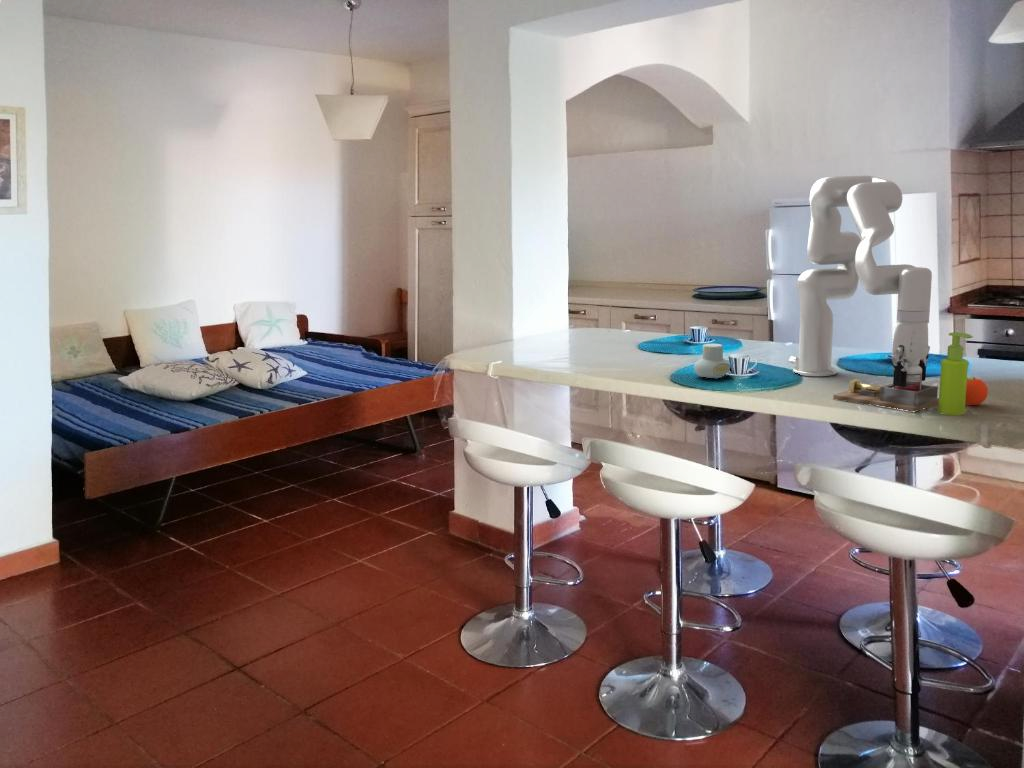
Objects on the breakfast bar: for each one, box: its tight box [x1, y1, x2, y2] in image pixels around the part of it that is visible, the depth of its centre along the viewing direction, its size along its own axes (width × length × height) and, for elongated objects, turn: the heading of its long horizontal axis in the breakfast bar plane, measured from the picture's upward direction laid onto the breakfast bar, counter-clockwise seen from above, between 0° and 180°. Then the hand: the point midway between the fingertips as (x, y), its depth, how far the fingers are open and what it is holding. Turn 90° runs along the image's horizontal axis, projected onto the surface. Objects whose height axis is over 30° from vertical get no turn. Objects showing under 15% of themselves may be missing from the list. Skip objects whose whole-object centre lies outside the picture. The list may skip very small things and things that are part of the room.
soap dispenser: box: [937, 332, 974, 416], centre depth 220 cm, size 6×7×20 cm
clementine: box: [965, 377, 989, 406], centre depth 229 cm, size 8×7×7 cm
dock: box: [832, 383, 939, 411], centre depth 236 cm, size 22×14×5 cm, turn 39°
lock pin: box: [849, 378, 883, 394], centre depth 240 cm, size 9×3×3 cm, turn 39°
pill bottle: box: [895, 359, 923, 392], centre depth 231 cm, size 6×6×11 cm
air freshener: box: [693, 343, 731, 378], centre depth 273 cm, size 11×8×10 cm
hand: (909, 383), depth 231 cm, fingers open, 9 cm apart
